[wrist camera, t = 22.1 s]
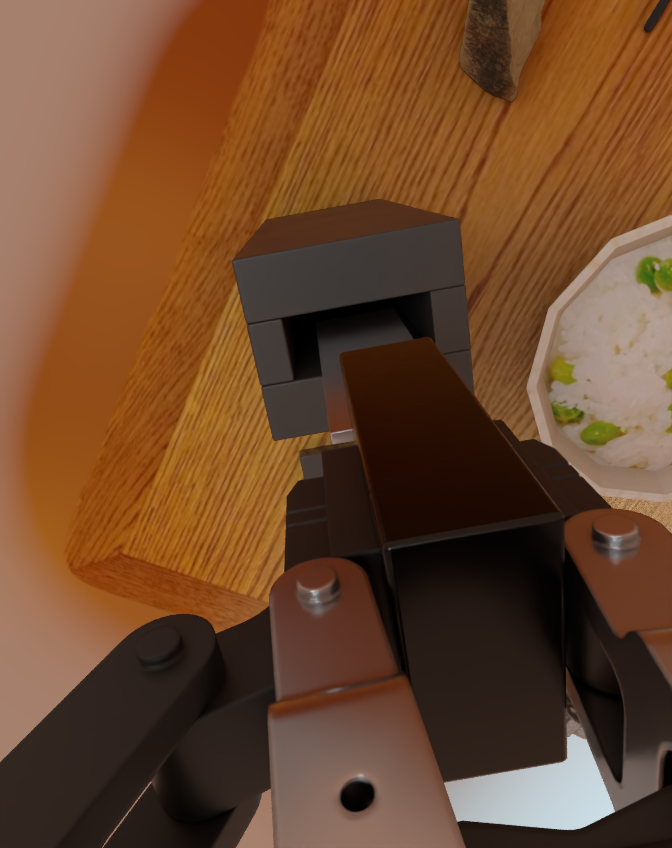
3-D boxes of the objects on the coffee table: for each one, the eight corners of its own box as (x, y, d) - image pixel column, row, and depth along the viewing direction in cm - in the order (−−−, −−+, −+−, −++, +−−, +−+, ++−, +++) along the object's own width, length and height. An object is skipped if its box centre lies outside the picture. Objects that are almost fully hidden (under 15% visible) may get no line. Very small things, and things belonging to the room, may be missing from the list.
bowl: (441, 399, 47) (476, 454, 37) (571, 150, 40) (652, 141, 31) (642, 481, 51) (719, 548, 41) (790, 264, 44) (920, 287, 35)
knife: (325, 374, 24) (385, 795, 8) (306, 272, 22) (336, 555, 6) (400, 361, 23) (606, 757, 8) (387, 257, 22) (614, 506, 6)
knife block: (285, 319, 44) (273, 441, 23) (265, 219, 41) (231, 260, 21) (393, 300, 44) (475, 405, 23) (380, 198, 41) (460, 218, 21)
